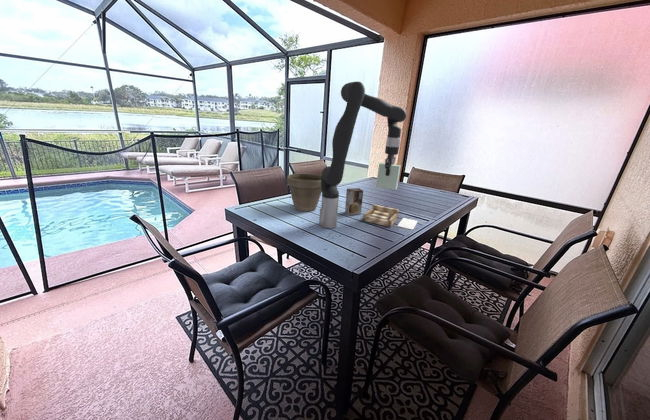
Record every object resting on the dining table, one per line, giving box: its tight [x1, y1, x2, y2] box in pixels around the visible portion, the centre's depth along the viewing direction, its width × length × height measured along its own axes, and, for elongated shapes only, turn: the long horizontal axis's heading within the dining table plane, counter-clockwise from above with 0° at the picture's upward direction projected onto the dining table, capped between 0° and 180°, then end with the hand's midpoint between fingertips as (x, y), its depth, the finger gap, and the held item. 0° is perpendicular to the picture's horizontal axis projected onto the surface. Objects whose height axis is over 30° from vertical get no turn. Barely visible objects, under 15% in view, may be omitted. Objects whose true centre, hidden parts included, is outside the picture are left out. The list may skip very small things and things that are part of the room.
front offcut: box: [371, 214, 387, 220], centre depth 152 cm, size 9×3×4 cm, turn 55°
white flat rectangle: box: [396, 217, 418, 231], centre depth 152 cm, size 9×16×1 cm, turn 151°
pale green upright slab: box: [375, 162, 402, 191], centre depth 151 cm, size 12×4×14 cm, turn 61°
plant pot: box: [286, 172, 322, 212], centre depth 166 cm, size 25×25×22 cm
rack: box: [362, 203, 400, 228], centre depth 156 cm, size 17×17×6 cm
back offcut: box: [373, 211, 390, 221], centre depth 155 cm, size 9×3×5 cm, turn 60°
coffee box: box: [344, 187, 364, 216], centre depth 162 cm, size 9×6×16 cm
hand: (388, 174), depth 150 cm, fingers closed on pale green upright slab, 4 cm apart
